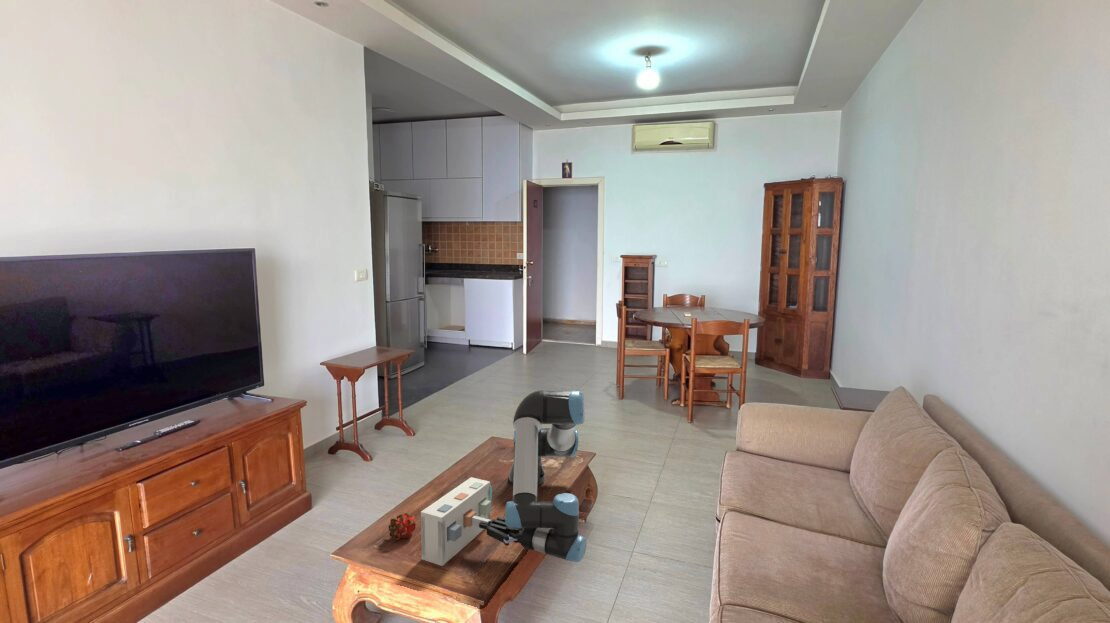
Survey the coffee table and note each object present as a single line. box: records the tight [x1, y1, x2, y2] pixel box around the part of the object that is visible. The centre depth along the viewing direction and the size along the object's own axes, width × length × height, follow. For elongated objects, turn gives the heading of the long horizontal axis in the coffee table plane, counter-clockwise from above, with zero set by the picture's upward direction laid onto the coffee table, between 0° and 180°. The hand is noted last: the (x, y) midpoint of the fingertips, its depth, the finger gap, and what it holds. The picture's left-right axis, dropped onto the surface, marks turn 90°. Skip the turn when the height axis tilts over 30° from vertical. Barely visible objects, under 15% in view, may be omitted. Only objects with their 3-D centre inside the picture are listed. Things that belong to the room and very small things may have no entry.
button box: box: [420, 476, 491, 567], centre depth 184 cm, size 28×8×16 cm, turn 155°
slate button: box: [447, 523, 462, 541], centre depth 174 cm, size 4×5×4 cm
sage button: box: [479, 499, 492, 515], centre depth 190 cm, size 4×5×4 cm
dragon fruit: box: [388, 512, 417, 541], centre depth 187 cm, size 8×8×12 cm
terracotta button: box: [463, 511, 476, 527], centre depth 183 cm, size 4×5×4 cm
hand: (473, 520), depth 181 cm, fingers closed
